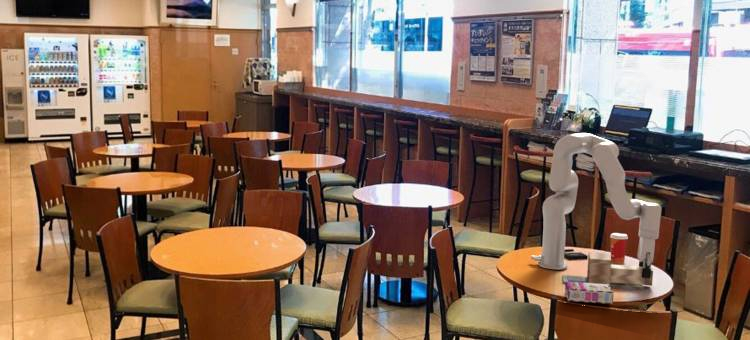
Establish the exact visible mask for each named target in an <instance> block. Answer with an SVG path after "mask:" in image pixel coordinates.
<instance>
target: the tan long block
mask: <svg viewBox="0 0 750 340" xmlns="http://www.w3.org/2000/svg"><path fill="white" fill-rule="evenodd" d="M587 255H588V259H587V273H586V276H580V275H579V276H578V275H569V274H568V275H567V274H562V284H565V283H566V282H579V283H596V284H609V286H610V288H611V289H623V290H624V289H625V290H634V291H635V290H637V291H638V290H639V291H644V285H637V284H624V283H612V282H610V273H611V264H612V261H611V255H610V253H609V252H594V251H588V254H587Z"/></svg>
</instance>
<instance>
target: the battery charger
mask: <svg viewBox="0 0 750 340" xmlns="http://www.w3.org/2000/svg"><path fill="white" fill-rule="evenodd" d="M572 251H573V252H572ZM564 259H566V260H569V261H578V260H577V259H581V260H588V254H585V253H583V252H581V251H579V252H575V251H574V248H572V249H571V248H569V249H566V248H565V252H564Z"/></svg>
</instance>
